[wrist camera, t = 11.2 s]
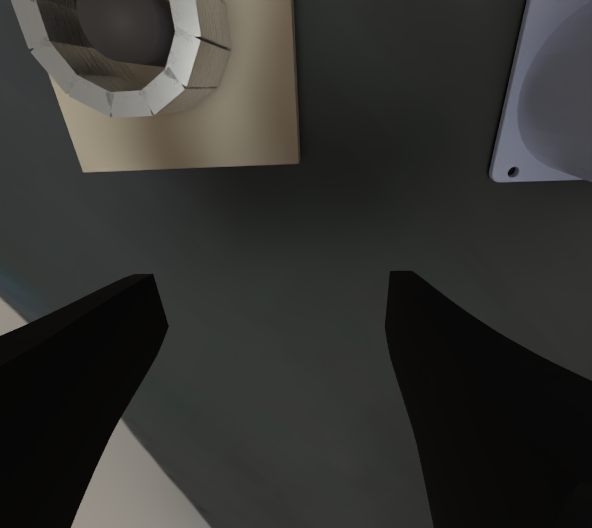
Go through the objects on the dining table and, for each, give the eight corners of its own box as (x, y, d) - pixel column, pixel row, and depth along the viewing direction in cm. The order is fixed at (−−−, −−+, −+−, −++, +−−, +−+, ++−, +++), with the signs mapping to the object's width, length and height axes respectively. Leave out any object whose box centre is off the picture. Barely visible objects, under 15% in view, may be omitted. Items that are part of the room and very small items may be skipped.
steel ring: (217, -69, 12) (175, -132, 9) (238, 106, 15) (212, 112, 11) (69, -54, 13) (-29, -108, 9) (115, 113, 15) (54, 120, 12)
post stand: (286, -155, 12) (266, -294, 8) (300, 157, 17) (293, 182, 13) (7, -121, 13) (-155, -228, 9) (100, 166, 18) (29, 191, 14)
